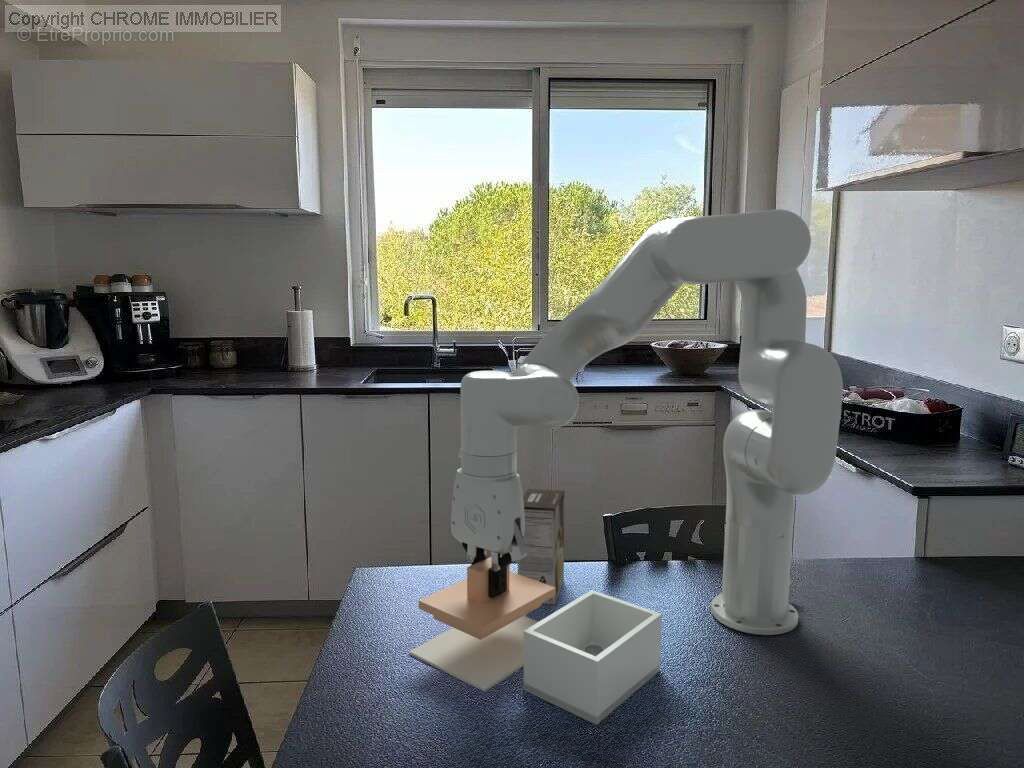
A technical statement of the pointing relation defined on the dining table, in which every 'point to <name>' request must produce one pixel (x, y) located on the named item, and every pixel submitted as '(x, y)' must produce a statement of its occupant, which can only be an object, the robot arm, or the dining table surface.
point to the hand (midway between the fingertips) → (489, 589)
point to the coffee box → (544, 538)
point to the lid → (485, 601)
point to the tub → (592, 654)
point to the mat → (477, 654)
